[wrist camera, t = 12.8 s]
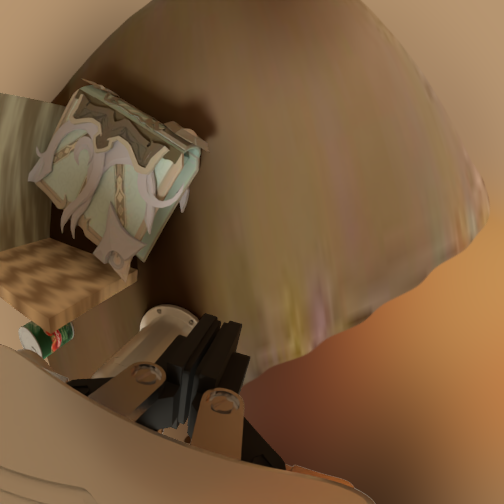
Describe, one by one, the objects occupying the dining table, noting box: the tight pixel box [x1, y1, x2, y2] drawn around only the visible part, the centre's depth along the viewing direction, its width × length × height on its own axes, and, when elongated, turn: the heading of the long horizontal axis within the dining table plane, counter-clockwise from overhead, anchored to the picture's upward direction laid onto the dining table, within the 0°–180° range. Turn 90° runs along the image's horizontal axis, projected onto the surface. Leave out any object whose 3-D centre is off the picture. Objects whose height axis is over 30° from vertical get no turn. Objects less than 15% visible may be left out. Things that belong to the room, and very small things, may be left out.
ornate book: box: [28, 78, 209, 283], centre depth 36 cm, size 23×10×30 cm
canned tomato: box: [19, 321, 74, 359], centre depth 44 cm, size 8×8×11 cm
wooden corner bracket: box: [0, 93, 138, 334], centre depth 31 cm, size 25×28×20 cm
